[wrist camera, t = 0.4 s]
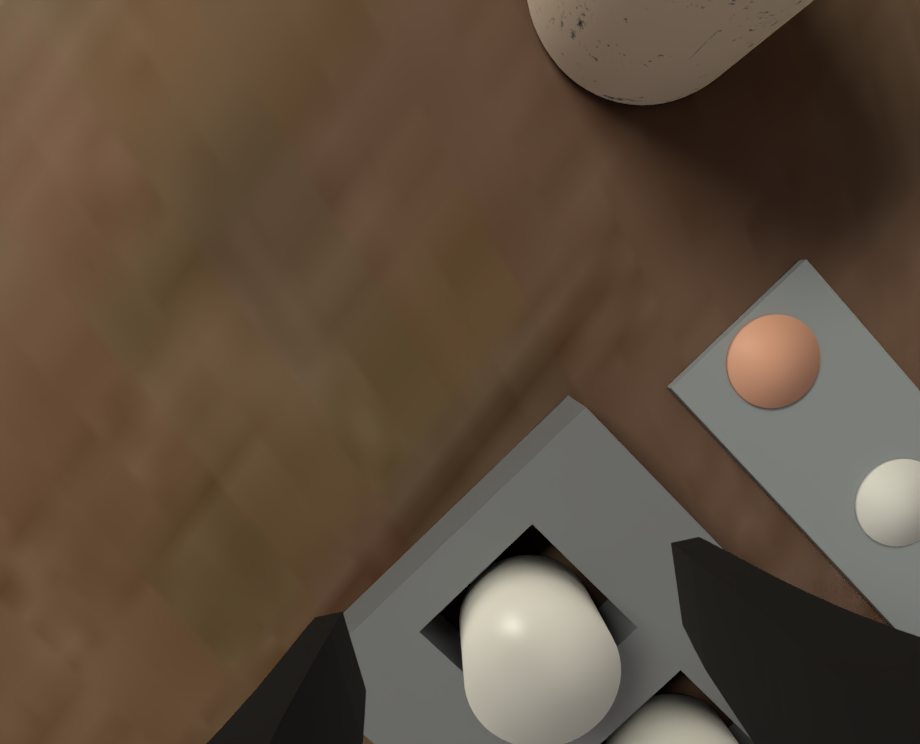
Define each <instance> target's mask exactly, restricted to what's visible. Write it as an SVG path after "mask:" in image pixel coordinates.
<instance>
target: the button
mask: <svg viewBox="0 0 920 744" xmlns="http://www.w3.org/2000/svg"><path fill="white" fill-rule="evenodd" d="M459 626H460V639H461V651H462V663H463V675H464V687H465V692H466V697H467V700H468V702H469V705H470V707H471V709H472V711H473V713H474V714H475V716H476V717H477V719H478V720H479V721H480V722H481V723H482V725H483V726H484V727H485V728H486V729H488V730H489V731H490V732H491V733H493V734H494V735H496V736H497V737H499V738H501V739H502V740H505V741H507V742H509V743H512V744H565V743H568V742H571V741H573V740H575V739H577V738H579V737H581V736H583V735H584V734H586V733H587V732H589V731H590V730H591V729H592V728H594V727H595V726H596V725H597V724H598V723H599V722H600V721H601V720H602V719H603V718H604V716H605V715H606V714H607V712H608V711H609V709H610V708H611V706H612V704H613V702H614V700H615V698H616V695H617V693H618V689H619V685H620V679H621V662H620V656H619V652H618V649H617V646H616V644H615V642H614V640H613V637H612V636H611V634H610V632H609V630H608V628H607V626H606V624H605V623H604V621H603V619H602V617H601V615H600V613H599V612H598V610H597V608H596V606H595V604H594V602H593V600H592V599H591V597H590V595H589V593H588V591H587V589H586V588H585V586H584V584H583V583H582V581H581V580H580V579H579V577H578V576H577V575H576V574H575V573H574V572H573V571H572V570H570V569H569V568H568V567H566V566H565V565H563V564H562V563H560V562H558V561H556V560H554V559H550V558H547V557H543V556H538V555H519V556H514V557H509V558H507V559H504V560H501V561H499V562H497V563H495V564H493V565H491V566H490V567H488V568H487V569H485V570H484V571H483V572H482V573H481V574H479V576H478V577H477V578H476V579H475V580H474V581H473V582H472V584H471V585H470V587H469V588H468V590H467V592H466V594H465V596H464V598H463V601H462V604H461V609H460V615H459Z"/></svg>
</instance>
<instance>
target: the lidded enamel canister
mask: <svg viewBox="0 0 920 744" xmlns="http://www.w3.org/2000/svg"><path fill="white" fill-rule="evenodd" d="M812 1H813V0H527V2H528V6H529V11H530V15H531V18H532V21H533V24H534V27H535V29H536V31H537V34H538V36H539V38H540V40H541V42H542V44H543V46H544V47H545V49H546V50H547V52H548V53H549V55H550V56H551V58H552V59H553V60H554V62H555V63H556V64H557V65H558V67H559V68H560V69H561V70H562V71H563V72H564V73H565V74H566V75H567V76H568V77H570V78H571V79H572V80H573V81H575V82H576V83H577V84H579V85H580V86H582V87H583V88H585V89H586V90H588V91H590V92H592V93H594V94H595V95H598V96H600V97H603V98H605V99H608V100H612V101H615V102H619V103H624V104H631V105H655V104H662V103H667V102H671V101H675V100H678V99H680V98H683V97H686V96H688V95H690V94H692V93H694V92H696V91H698V90H700V89H702V88H703V87H705V86H707V85H708V84H710V83H711V82H712V81H714V80H715V79H716V78H718V77H719V76H720V75H721V74H723V73H724V72H725V71H726V70H728V69H729V68H730V67H731V66H733V65H734V64H735V63H736V62H738V61H739V60H740V59H741V58H743V57H744V56H745V55H746V54H748V53H749V52H750V51H751V50H753V49H754V48H755V47H756V46H757V45H759V44H760V43H761V42H762V41H764V40H765V39H766V38H767V37H769V36H770V35H771V34H772V33H774V32H775V31H776V30H777V29H779V28H780V27H781V26H782V25H784V24H785V23H786V22H787V21H789V20H790V19H791V18H792V17H794V16H795V15H796V14H797V13H799V12H800V11H801V10H802V9H804V8H805V7H806V6H807V5H809V4H810V3H811V2H812Z"/></svg>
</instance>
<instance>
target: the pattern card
mask: <svg viewBox="0 0 920 744" xmlns="http://www.w3.org/2000/svg"><path fill="white" fill-rule="evenodd" d="M667 387H668V389H669V390H670V391H671V392H672V393H673V394H674V395H675V396H676V397H677V398H678V399H679V400H680V401H681V402H682V403H683V405H684V406H685V407H686V408H687V409H688V410H689V411H690V412H691V413H692V414H693V415H694V416H695V417H696V418H697V420H698V421H699V422H700V423H701V424H702V425H703V426H704V427H705V428H706V429H707V430H708V431H709V432H710V433H711V435H712V436H713V437H714V438H715V439H716V440H717V441H718V442H719V443H720V444H721V445H722V446H723V447H724V448H725V449H726V451H727V452H728V453H729V454H730V455H731V456H732V457H733V458H734V459H735V460H736V461H737V462H738V463H739V464H740V466H741V467H742V468H743V469H744V470H745V471H746V472H747V473H748V474H749V475H750V476H751V477H752V478H753V479H754V480H755V482H756V483H757V484H758V485H759V486H760V487H761V488H762V489H763V490H764V491H765V492H766V493H767V494H768V495H769V497H770V498H771V499H772V500H773V501H774V502H775V503H776V504H777V505H778V506H779V507H780V508H781V509H782V510H783V512H784V513H785V514H786V515H787V516H788V517H789V518H790V519H791V520H792V521H793V522H794V523H795V524H796V525H797V526H798V528H799V529H800V530H801V531H802V532H803V533H804V534H805V535H806V536H807V537H808V538H809V539H810V540H811V541H812V543H813V544H814V545H815V546H816V547H817V548H818V549H819V550H820V551H821V552H822V553H823V554H824V555H825V556H826V558H827V559H828V560H829V561H830V562H831V563H832V564H833V565H834V566H835V567H836V568H837V569H838V570H839V571H840V572H841V574H842V575H843V576H844V577H845V578H846V579H847V580H848V581H849V582H850V583H851V584H852V585H853V586H854V587H855V589H856V590H857V591H858V592H859V593H860V594H861V595H862V596H863V597H864V598H865V599H866V600H867V601H868V602H869V603H870V605H871V606H872V607H873V608H874V609H875V610H876V611H877V612H878V613H879V614H880V615H881V616H882V617H883V618H884V620H885V621H886V622H887V623H888V624H889V625H890V626H891V627H893V628H895V629H898V630H901V631H904V632H907V633H910V634H913V635H916V636H919V637H920V391H919V390H918V388H917V387H916V386H915V385H914V384H913V383H912V381H911V380H910V379H909V378H908V377H907V376H906V374H905V373H904V372H903V371H902V370H901V369H900V367H899V366H898V365H897V364H896V363H895V362H894V360H893V359H892V358H891V357H890V356H889V355H888V353H887V352H886V351H885V350H884V349H883V348H882V346H881V345H880V344H879V343H878V342H877V341H876V340H875V338H874V337H873V336H872V335H871V334H870V333H869V331H868V330H867V329H866V328H865V327H864V326H863V324H862V323H861V322H860V321H859V320H858V319H857V317H856V316H855V315H854V314H853V313H852V312H851V310H850V309H849V308H848V307H847V306H846V305H845V303H844V302H843V301H842V300H841V299H840V298H839V296H838V295H837V294H836V293H835V292H834V291H833V290H832V288H831V287H830V286H829V285H828V284H827V283H826V281H825V280H824V279H823V278H822V277H821V276H820V274H819V273H818V272H817V271H816V270H815V269H814V267H813V266H812V265H811V264H810V263H809V262H808V260H807V259H804V260H799V261H798V262H797V263H796V264H795V265H794V266H793V267H792V268H791V269H790V270H789V271H788V272H787V273H785V274H784V275H783V276H782V277H781V278H780V279H779V280H778V281H777V282H776V283H775V284H774V285H773V286H772V287H771V288H770V289H769V290H768V291H767V292H766V293H765V294H763V295H762V296H761V297H760V298H759V299H758V300H757V301H756V302H755V303H754V304H753V305H752V306H751V307H750V308H749V309H748V310H747V311H746V312H745V313H744V314H743V315H742V316H740V317H739V318H738V319H737V320H736V321H735V322H734V323H733V324H732V325H731V326H730V327H729V328H728V329H727V330H726V331H725V332H724V333H723V334H722V335H721V336H720V337H718V338H717V339H716V340H715V341H714V342H713V343H712V344H711V345H710V346H709V347H708V348H707V349H706V350H705V351H704V352H703V353H702V354H701V355H700V356H699V357H698V358H697V359H695V360H694V361H693V362H692V363H691V364H690V365H689V366H688V367H687V368H686V369H685V370H684V371H683V372H682V373H681V374H680V375H679V376H678V377H677V378H676V379H675V380H674V381H672V382H671V383H670V384H669V385H668V386H667Z"/></svg>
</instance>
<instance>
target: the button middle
mask: <svg viewBox="0 0 920 744" xmlns="http://www.w3.org/2000/svg"><path fill="white" fill-rule="evenodd" d="M606 744H739V743H738V742H737V740H736V739H735V737H734V736H733V735H732V733H731V732H730V730H729V729H728V727H727V726H726V725H725V723H724V722H723V720H722V719H721V717H720V716H719V715H718V714H717V713H716V711H715V710H714V709H713V708H711V707H710V706H709V705H708V704H706V703H704V702H703V701H701V700H699V699H697V698H695V697H691V696H688V695H683V694H661V695H656V696H652V697H651V698H650V699H649V700H648V701H646V702H645V703H644V704H643V705H642V706H641V707H640V708H639V709H638V710H637V711H636V712H634V713H633V714H632V715H631V716H630V717H629V718H628V719H627V720H626V721H625V722H624V723H623V724H621V725H620V726H619V727H618V728H617V729H616V730H615V731H614V732H613V733H612V734H611V735H609V736H608V737H607V740H606Z"/></svg>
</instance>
